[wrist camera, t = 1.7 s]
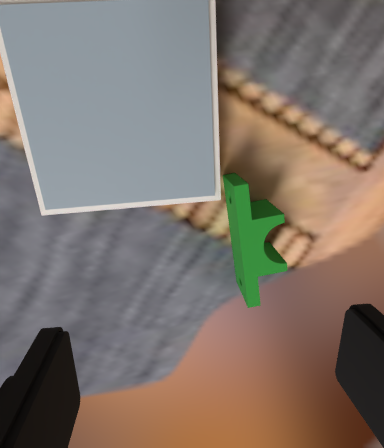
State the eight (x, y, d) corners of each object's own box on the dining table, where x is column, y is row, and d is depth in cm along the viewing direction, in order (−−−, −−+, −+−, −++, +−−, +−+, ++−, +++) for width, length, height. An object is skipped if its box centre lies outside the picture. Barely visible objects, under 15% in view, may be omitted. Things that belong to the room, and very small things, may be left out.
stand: (9, 12, 21) (-17, -5, 18) (208, 4, 22) (215, -14, 19) (54, 204, 26) (40, 216, 23) (214, 190, 27) (221, 200, 24)
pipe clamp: (271, 273, 31) (289, 300, 26) (235, 280, 31) (247, 308, 26) (263, 166, 27) (282, 177, 22) (222, 174, 26) (233, 186, 22)
